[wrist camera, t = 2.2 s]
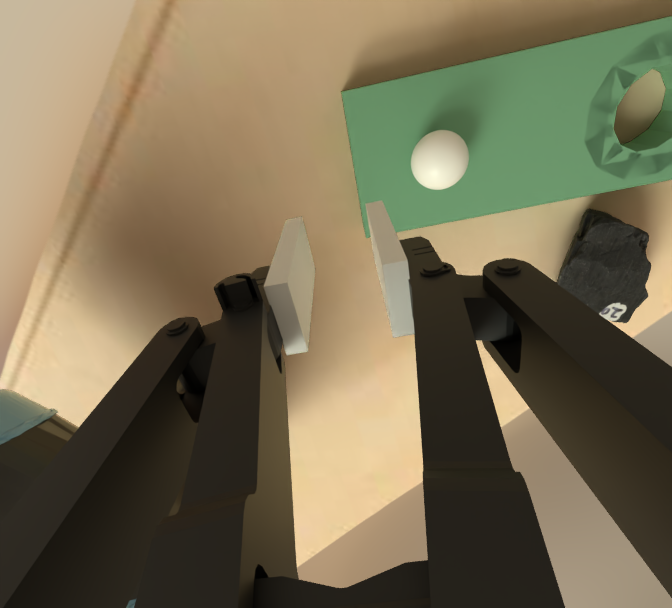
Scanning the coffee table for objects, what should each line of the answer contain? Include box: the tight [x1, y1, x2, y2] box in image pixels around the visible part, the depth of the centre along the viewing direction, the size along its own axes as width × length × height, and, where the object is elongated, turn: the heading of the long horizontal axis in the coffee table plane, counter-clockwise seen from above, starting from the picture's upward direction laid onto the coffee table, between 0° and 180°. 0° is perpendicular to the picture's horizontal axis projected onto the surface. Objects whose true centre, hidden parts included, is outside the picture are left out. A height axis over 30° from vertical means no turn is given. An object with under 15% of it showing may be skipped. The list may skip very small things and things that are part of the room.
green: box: [341, 16, 672, 238], centre depth 28 cm, size 28×11×6 cm, turn 101°
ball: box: [411, 130, 469, 190], centre depth 27 cm, size 4×4×4 cm
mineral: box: [557, 209, 651, 323], centre depth 34 cm, size 10×9×6 cm
